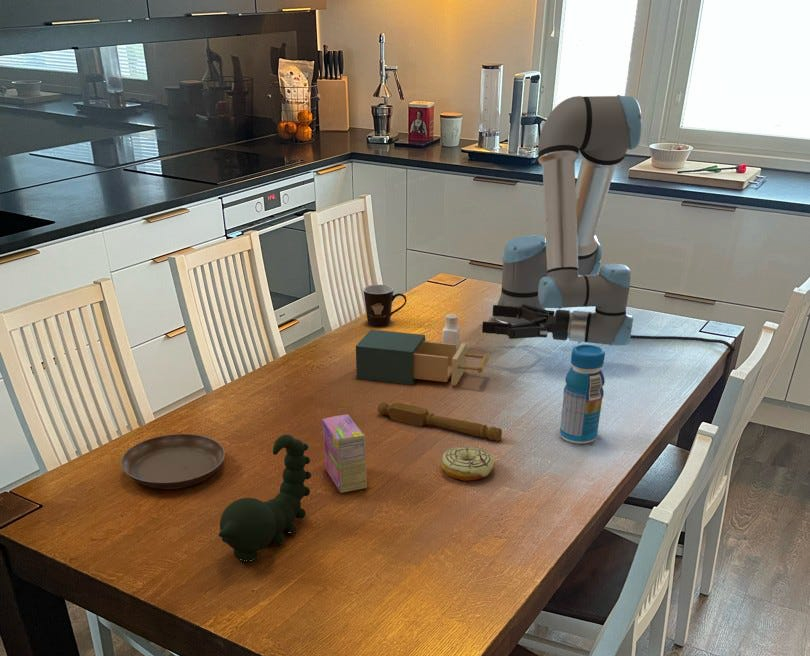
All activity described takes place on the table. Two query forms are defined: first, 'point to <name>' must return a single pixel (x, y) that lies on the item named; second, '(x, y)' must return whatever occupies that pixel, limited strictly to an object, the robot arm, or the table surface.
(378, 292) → the coffee mug
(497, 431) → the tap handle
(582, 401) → the beverage bottle
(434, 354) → the drawer
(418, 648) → the table surface
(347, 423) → the box
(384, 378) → the cabinet
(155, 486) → the plant saucer
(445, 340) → the pepper shaker
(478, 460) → the decorated donut
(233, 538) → the toy figurine
